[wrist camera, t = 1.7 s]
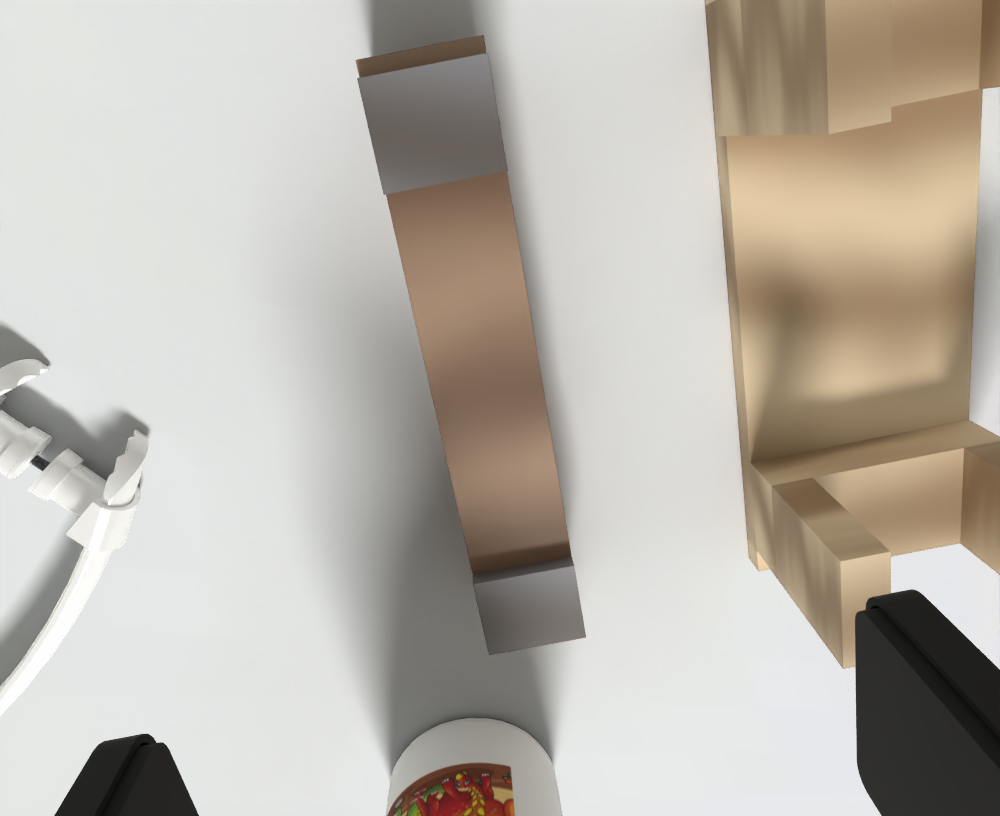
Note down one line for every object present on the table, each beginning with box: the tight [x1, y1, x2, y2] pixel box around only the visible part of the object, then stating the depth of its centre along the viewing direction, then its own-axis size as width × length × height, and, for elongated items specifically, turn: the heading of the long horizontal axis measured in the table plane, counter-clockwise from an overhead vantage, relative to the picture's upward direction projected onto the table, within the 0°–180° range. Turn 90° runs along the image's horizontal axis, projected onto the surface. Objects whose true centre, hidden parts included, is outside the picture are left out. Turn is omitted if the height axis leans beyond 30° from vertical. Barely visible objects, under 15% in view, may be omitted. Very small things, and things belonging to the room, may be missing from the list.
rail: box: [356, 35, 586, 655], centre depth 25 cm, size 20×4×5 cm, turn 10°
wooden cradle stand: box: [705, 0, 1000, 669], centre depth 23 cm, size 22×8×8 cm, turn 11°
